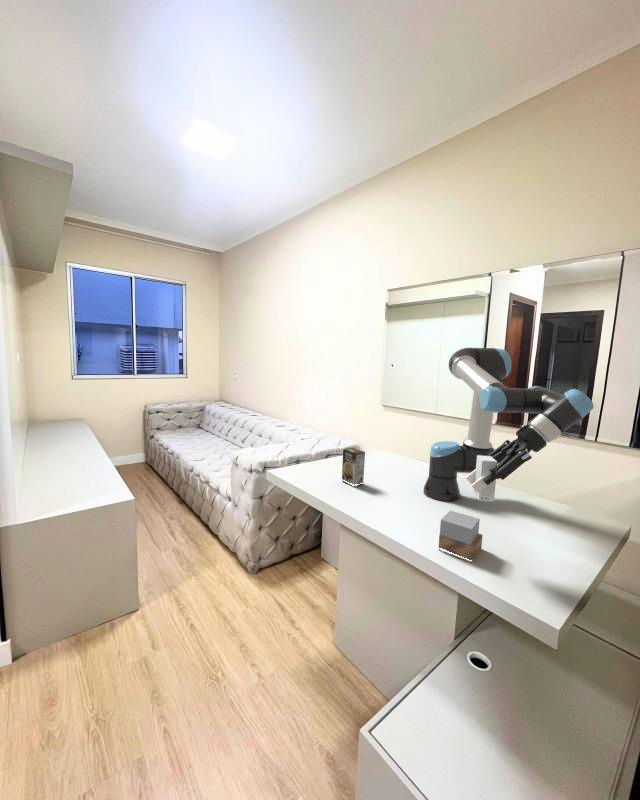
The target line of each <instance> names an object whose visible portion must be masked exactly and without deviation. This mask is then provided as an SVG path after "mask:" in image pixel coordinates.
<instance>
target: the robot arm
mask: <svg viewBox="0 0 640 800" xmlns="http://www.w3.org/2000/svg"><path fill="white" fill-rule="evenodd" d="M511 360H512V359H511V357H510V355H509V353H508V351H506V350H505V349H503V348H495V347H464V348H460V349H458V350H456V351H455V352H454V353H453V354H451V356H450V358H449V360H448V369H449V371H450V373H451V375H453V376H454V377H455V378H456V379H459V380H462V381H463V382H464V383H465V384H466V385H467V386H468V387H469V388H470V389H471V390H472V391H473V394H472V395H473V396H472V401H471V410H470V417H469V424H468V432H467V433H468V434H467V437H466V438H465V439H463V440H462V445H460V444H459V443H458V442H456V441H447V440H444V441H438V442H437V441H436V442H434V443H433V444H432V445H431V447H430V452H429V466H428V477H427V479H426V481H425V484H424V486H423V494H424V495H425V496H426V495H427V496H426V497H428V498H430V497H431V499H433V500H436V499H437V501H441V500H442V502H443V501H444V502H455V501H459V499H460V498H461V491H460V488H459V487H460V486H459V484H458V473H461V474H467V475H466V476H465V480H467V481H468V483H470V484H471V485H470V486H471V487H472V488H473V490H474V489H475V490H476V491H477V492H478V493H479V492H480V491H482V490H483V489H484V488H485V487H487V486H488V485H489V484H491V483H492V482H493V481H495V480H496V481H497V480H499V479H500V480H502V481H504V480H505V479H507V478H508V477H509V476H510V475H511V474H512V473H514V472H515V471H516V470H517V469H518V468H520V467H521V466H522V465H523V464H525V463H526V462H528V461H530V460H531V459H532V458H533V456H532V455H531V454H530V453H531V451H533V452H535V453H538V452H540V451H541V450H542V449H544V448H546V446H547V444H549V443H550V444H551V442H553V441H554V440H557V439H558V437H559V436H560V435H562V434H563V433H564V432H566V431H567V430H569V429H570V428H572V426H574V425H576V424H577V423H578V422H580V421H581V420H582V419H584V418H585V417H586V416H587V415H588V414H589V413H590V412H591V411H592V410H593V409H594V408H595V407H594V406H595V405H594V402H593V401H592V400H591V398H590V397H589V396H587V395H586V394H585V393H584V392H582V391H580V390H578V389H576V388H572V389H569V390H568V391H565V392H564V393H563V394H562V393H558V392H556V391H554V390H551V389H549V388H547V387H544V386H538V385H534V386H530V387H528V388H522V387H521V388H520V387H518V388H517V387H508V386H506V385H505V384H504V383H503V379H505V378H507V377H508V376H509V375H510V373H511V371H512V361H511ZM494 413H497V414H498V413H516V414H517V413H519V414H537V415H536V416H534V417H533V418H531V419H530V420H529V421H528V422H527V424H526V425H525V424H524V425H523V426H522V427H520V428H519V429H518V430H517V431H515V435H516V436H517V438H516V439H514V440H512V441H510V440H509V439H506V440H505V441H504V442H503V443H502V444H501V445H499V446H498V447H497V448H494V447H493V444H492V442H491V441H490V439H491V432H492V426H493V425H492V423H493V419H494ZM477 455H480V456H491V457H492V458H494V459H495V460H496V461H497V462H498V463H497V466H496V467H495V468H494V469H493V470H492V469H490V470H489V471H488V472H487V473H486V474H485V475H483V476H482V477H481V478H479V479H478V480H477V481H476V482H475V473H476V462H477Z"/></svg>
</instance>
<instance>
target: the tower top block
mask: <svg viewBox="0 0 640 800" xmlns="http://www.w3.org/2000/svg"><path fill="white" fill-rule="evenodd" d="M480 519H481V518H479V517H478V518H477V517H474V516H471V515H468V514H465V513H461V512H458V511H453V510H448V512H447V513H446V514H445V515H444V516H443V517H442V518H441V519H440V526H439V536H440V535H441V536H444V537H447V538H450V539H453V540H456V541H459V542H462V543H465V544H468V545H471V544H472V543H473V541H474V540H475V538H476V537H477V535H478V533H479V530H480Z"/></svg>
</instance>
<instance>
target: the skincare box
mask: <svg viewBox="0 0 640 800" xmlns="http://www.w3.org/2000/svg"><path fill="white" fill-rule="evenodd" d="M497 463H498V462H497V461H496V460H495V459H494V458H492V457H491V456H480V455H477V462H476V473H475V482H476V481H477V480H478V479H479V478H481V477H482V476H483V475H485V474H486V473H487V472H488V471H489V470H490V469H492V470H493V469H494V468H495V467H496V466H497V465H498V464H497ZM496 485H497V479H496V480H495V481H493V482H492V483H491V484H489V485H488V486H487V487H485V488H484V489H483V490H482V491H480V492H479V493H478V492H477V491H476V490H475V489H474V488H473V494H474V495H475V497H476V498H477V499H478V501H480V502H492V503H494V502H495V496H496V495H495V493H496Z"/></svg>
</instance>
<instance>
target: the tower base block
mask: <svg viewBox="0 0 640 800" xmlns="http://www.w3.org/2000/svg"><path fill="white" fill-rule="evenodd" d="M483 535H484V534H482V533H479V532H478V535H477V537H476V538H475V540H474V541H473V543H472V544H471V545H468V544H465V543H462V542H459V541H456V540H453V539H450V538H447V537H444V536H441V535H440V534H439V537H438V548H442V549H445V550H447V551H449V552H452V553H454V554H457V555H459V556H462V557H464V558H467V559H469V560H472V561H473V559H474V558H475V557H476V558H477V556H478V555H479V553H480V552H479V551H481V550H482V546H483ZM478 552H479V553H478ZM477 554H478V555H477ZM476 555H477V556H476ZM476 558H475V559H476ZM473 562H474V561H473Z"/></svg>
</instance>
